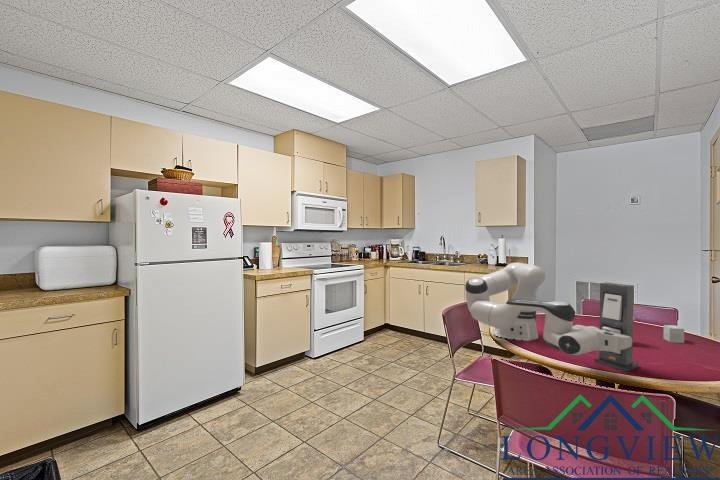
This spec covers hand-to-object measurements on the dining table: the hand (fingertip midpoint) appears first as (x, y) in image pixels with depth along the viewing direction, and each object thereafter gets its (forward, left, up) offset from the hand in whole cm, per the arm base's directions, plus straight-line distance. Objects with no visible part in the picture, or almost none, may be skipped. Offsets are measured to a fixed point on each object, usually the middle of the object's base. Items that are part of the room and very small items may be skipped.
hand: (609, 332), depth 140 cm
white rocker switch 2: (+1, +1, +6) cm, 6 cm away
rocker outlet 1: (+2, +2, -8) cm, 9 cm away
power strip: (+3, +4, -15) cm, 15 cm away
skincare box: (+44, +46, -15) cm, 65 cm away
